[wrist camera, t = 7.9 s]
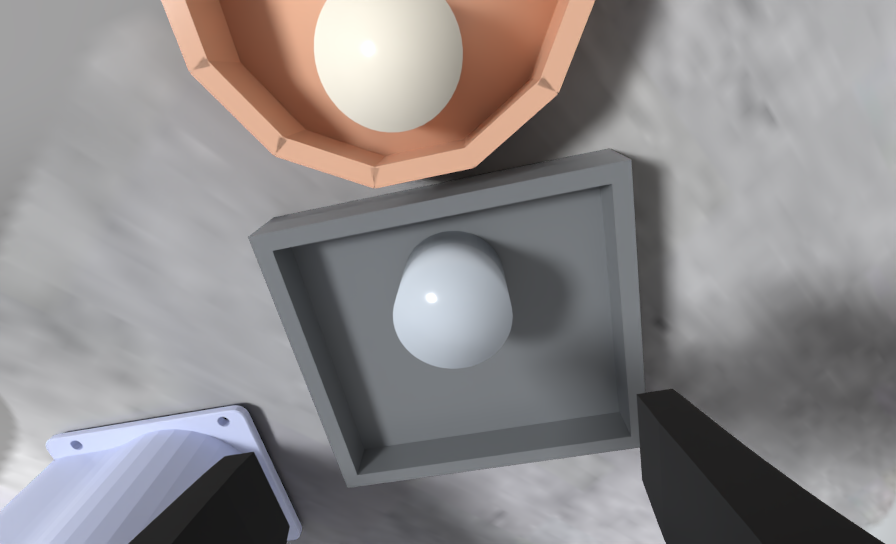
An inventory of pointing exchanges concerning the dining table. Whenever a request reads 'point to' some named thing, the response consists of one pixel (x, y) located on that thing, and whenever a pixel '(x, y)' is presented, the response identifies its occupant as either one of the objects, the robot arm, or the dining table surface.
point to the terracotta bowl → (333, 133)
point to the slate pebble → (453, 301)
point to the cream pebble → (388, 60)
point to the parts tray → (514, 365)
